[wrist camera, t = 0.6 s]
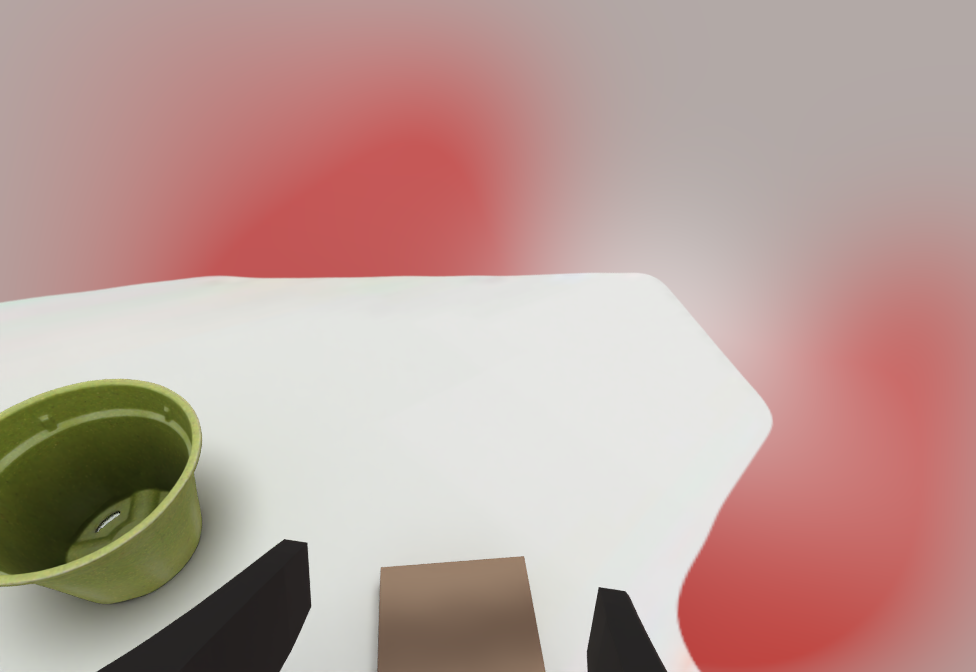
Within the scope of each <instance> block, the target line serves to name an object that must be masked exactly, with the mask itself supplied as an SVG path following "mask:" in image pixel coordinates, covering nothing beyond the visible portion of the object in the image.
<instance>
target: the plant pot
mask: <svg viewBox="0 0 976 672" xmlns="http://www.w3.org/2000/svg"><path fill="white" fill-rule="evenodd" d="M201 447H202V433H201V427H200V423H199V420H198V418H197V415H196V413H195V411H194V410H193V408H192V407H191V406H190V404H189V403H188V402H187V401H186V400H185V399H184V398H182V397H181V396H180V395H178V394H177V393H175V392H173V391H172V390H170V389H168V388H166V387H164V386H161V385H158V384H154V383H150V382H146V381H140V380H131V379H103V380H95V381H87V382H81V383H77V384H72V385H68V386H64V387H61V388H57V389H54V390H51V391H48V392H45V393H42V394H39V395H37V396H35V397H32V398H29V399H27V400H25V401H23V402H21V403H18V404H16V405H14V406H12V407H10V408H8V409H6V410H4V411H3V412H1V413H0V587H5V586H19V585H26V584H37V585H41V586H44V587H47V588H51V589H54V590H57V591H60V592H63V593H66V594H70V595H72V596H75V597H78V598H81V599H85V600H88V601H92V602H95V603H102V604H112V603H117V602H121V601H125V600H129V599H133V598H136V597H140V596H143V595H146V594H148V593H150V592H152V591H154V590H156V589H158V588H159V587H161V586H162V585H164V584H165V583H167V582H168V581H169V580H171V579H172V578H173V577H174V576H175V575H176V574H177V573H178V572H179V571H180V570H181V569H182V568H183V567H184V566H185V564H186V563H187V562H188V561H189V559H190V558H191V556H192V555H193V553H194V551H195V549H196V547H197V545H198V543H199V539H200V534H201V528H202V517H201V511H200V506H199V500H198V496H197V490H196V484H195V477H194V471H195V469H196V466H197V464H198V460H199V457H200V453H201ZM117 511H120V512H121V513H120V515H119V516H118V517H116V518H114V519H113V520H112V521H110V522H109V523H108V524H106V525H105V526H104V527H103V528H101V529H100V530H99V532H97V533H95V532H96V529H97V528H98V526H99V525H100V524H101V523H102V522H103V521H104V520H105V519H106V518H107V517H108V516H110V515H111V514H113V513H115V512H117Z"/></svg>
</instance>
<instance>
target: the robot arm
mask: <svg viewBox="0 0 976 672" xmlns="http://www.w3.org/2000/svg"><path fill="white" fill-rule="evenodd" d="M310 608H311V594H310V578H309V562H308V546H307V543H305V542H299V541H292V540H286V539H284V540H283V541H281V542H280V543H279V544H277V545H276V546H275V547H273V548H272V549H271V550H269V551H268V552H267V553H265V554H264V555H263V556H261V557H260V558H259V559H258V560H256V561H255V562H254V563H252V564H251V565H250V566H248V567H247V568H246V569H245V570H243V571H242V572H241V573H239V574H238V575H237V576H235V577H234V578H233V579H232V580H230V581H229V582H228V583H226V584H225V585H224V586H222V587H221V588H220V589H218V590H217V591H215V592H214V593H213V594H211V595H210V596H209V597H207V598H206V599H205V600H203V601H202V602H201V603H199V604H198V605H197V606H195V607H194V608H193V609H191V610H190V611H188V612H187V613H185V614H184V615H183V616H181V617H180V618H178V619H177V620H175V621H174V622H172V623H171V624H170V625H168V626H167V627H165V628H164V629H162V630H161V631H159V632H158V633H157V634H155V635H154V636H152V637H151V638H149V639H148V640H146V641H145V642H143V643H142V644H140V645H139V646H137V647H136V648H134V649H133V650H131V651H129V652H128V653H126V654H125V655H123V656H122V657H120V658H118V659H117V660H115V661H113V662H112V663H110V664H108V665H107V666H105V667H104V668H102V669H100V670H99V671H97V672H280V670H281V668H282V666H283V665H284V663H285V661H286V659H287V658H288V656H289V654H290V652H291V650H292V648H293V646H294V644H295V642H296V639H297V637H298V635H299V633H300V631H301V629H302V626H303V624H304V622H305V619H306V617H307V615H308V612H309V610H310ZM587 666H588V672H667V670H666V669H665V667H664V665H663V663H662V661H661V659H660V658H659V656H658V654H657V652H656V650H655V648H654V646H653V644H652V642H651V640H650V638H649V637H648V635H647V633H646V631H645V629H644V627H643V625H642V623H641V620H640V618H639V616H638V614H637V612H636V610H635V608H634V606H633V604H632V601H631V599H630V597H629V595H628V594H627V593H626V592H625V591H620V590H614V589H607V588H600V587H599V589H598V594H597V600H596V605H595V611H594V616H593V622H592V627H591V633H590V638H589V643H588V649H587Z"/></svg>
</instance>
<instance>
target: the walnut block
mask: <svg viewBox="0 0 976 672" xmlns="http://www.w3.org/2000/svg"><path fill="white" fill-rule="evenodd" d="M377 672H545V667H544V661H543V656H542V651H541V645H540V640H539V634H538V629H537V624H536V618H535V613H534V608H533V602H532V597H531V591H530V586H529V581H528V575H527V570H526V564H525V559H524V556H521V557H509V558H496V559H483V560H470V561H458V562H445V563H432V564H419V565H407V566H394V567H381V575H380V600H379V635H378V670H377Z"/></svg>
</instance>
